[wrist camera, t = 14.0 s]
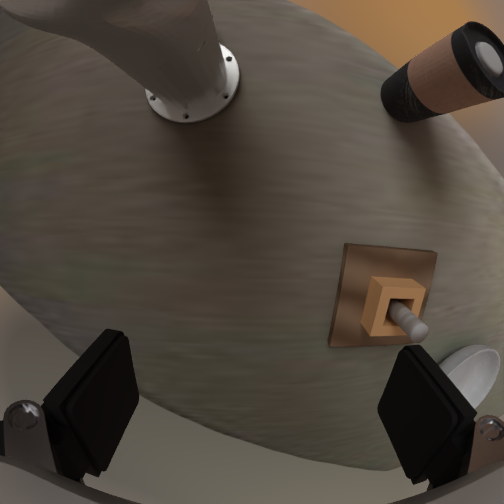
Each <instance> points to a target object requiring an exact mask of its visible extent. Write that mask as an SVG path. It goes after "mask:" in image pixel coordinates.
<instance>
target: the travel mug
mask: <svg viewBox="0 0 504 504" xmlns="http://www.w3.org/2000/svg"><path fill="white" fill-rule="evenodd" d="M503 97H504V45H503V43H502V42H501V40H500V39H499V38H498V37H497V36H496V35H495V34H494V33H493V32H492V31H491V30H490V29H489V28H487V27H486V26H484V25H483V24H480V23H478V22H473V21H471V22H467V23H466V24H465V25H463V26H462V27H460V28H459V29H457V30H455V31H454V32H452V33H451V34H449V35H447V36H446V37H444V38H443V39H441V40H440V41H438V42H436V43H435V44H433V45H432V46H430V47H429V48H427V49H426V50H424V51H423V52H422V53H420V54H418V55H417V56H416V57H414V58H413V59H411V60H410V61H409V62H408V63H406V64H405V65H404V66H403V67H402V68H400V69H399V70H398V71H397V72H395V73H394V74H393V75H392V76H391V77H389V78H388V79H387V80H386V81H385V82H384V83H383V85H382V88H381V99H382V102H383V105H384V107H385V108H386V110H387V111H388V112H389V114H390V115H391V116H393V117H394V118H395V119H397V120H399V121H401V122H406V123H409V122H415V121H419V120H423V119H426V118H430V117H434V116H438V115H442V114H446V113H450V112H453V111H456V110H460V109H463V108H467V107H470V106H473V105H477V104H480V103H484V102H488V101H492V100H495V99H499V98H503Z"/></svg>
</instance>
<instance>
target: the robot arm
mask: <svg viewBox="0 0 504 504" xmlns="http://www.w3.org/2000/svg"><path fill="white" fill-rule="evenodd" d="M0 7H1V8H2V9H3V10H4V11H5V13H7V14H8V15H9V16H11V17H12V18H13V19H15V20H17V21H19V22H21V23H23V24H25V25H27V26H29V27H32V28H35V29H38V30H42V31H45V32H49V33H53V34H57V35H61V36H65V37H69V38H72V39H74V40H77V41H79V42H82V43H84V44H86V45H87V46H89V47H91V48H93V49H94V50H96V51H97V52H99V53H100V54H102V55H103V56H105V57H106V58H107V59H109V60H110V61H111V62H113V63H114V64H115V65H116V66H118V67H119V68H120V69H122V70H123V71H124V72H126V73H127V74H128V75H129V76H131V77H132V78H133V79H135V80H136V81H137V82H138V83H140V84H141V85H142V86H143V87H145V92H146V97H147V100H148V102H149V104H150V105H151V107H152V108H153V110H154V111H156V112H157V113H158V114H159V115H160V116H162V117H164V118H165V119H168V120H170V121H173V122H178V123H195V122H200V121H203V120H206V119H209V118H211V117H212V116H214V115H216V114H218V113H219V112H220V111H222V110H223V109H224V108H225V107H226V106H227V105H228V104H229V103H230V102H231V100H232V99H233V97H234V96H235V94H236V91H237V89H238V86H239V81H240V71H239V66H238V63H237V60H236V58H235V57H234V55H233V54H232V52H231V51H229V50H228V49H227V48H226V47H225V46H223V45H221V44H220V43H219V39H218V36H217V32H216V29H215V25H214V22H213V15H211V11H210V7H209V4H208V1H207V0H0ZM229 60H231V61H230V62H228V61H229ZM225 96H227V97H228V98H227V99H224V97H225ZM154 99H156V100H155V101H154ZM186 116H189V118H188V119H186ZM43 401H44V403H43V404H42V405H41V406H40V405H39V404H37V403H35V402H34V401H30V400H21V401H17V402H15V403H13V404H11V405H10V406H9V407H8V408H7V409H6V411H5V413H4V418H3V420H2V421H0V504H140V503H136V502H133V501H130V500H126V499H123V498H120V497H117V496H113V495H110V494H107V493H104V492H102V491H99V490H96V489H93V488H91V487H88V486H86V485H85V483H84V481H83V477H84V475H85V473H88V474H91V475H93V476H96V477H99V475H100V473H101V471H106V470H107V468H108V466H109V464H110V462H111V459H112V457H113V455H114V453H115V450H116V448H117V446H118V444H119V442H120V440H121V438H122V436H123V434H124V431H125V429H126V427H127V425H128V423H129V421H130V419H131V417H132V415H133V413H134V411H135V409H136V407H137V405H138V402H139V392H138V387H137V383H136V378H135V373H134V368H133V362H132V357H131V351H130V345H129V340H128V337H126V336H124V333H123V332H122V331H117V330H112V329H106V330H105V331H104V332H103V333H102V334H101V335H100V336H99V337H98V338H97V339H96V340H95V341H94V342H93V343H92V345H91V346H90V347H89V348H88V349H87V350H86V351H85V352H84V353H83V354H82V356H81V357H80V358H79V359H78V360H77V361H76V362H75V363H74V364H73V366H72V367H71V368H70V369H69V370H68V371H67V372H66V374H65V375H64V376H63V377H62V378H61V379H60V380H59V382H58V383H57V384H56V385H55V386H54V387H53V389H52V390H51V391H50V392H49V393H48V395H47V396H46V397H45V398H44V399H43ZM378 414H379V416H380V418H381V420H382V423H383V425H384V427H385V429H386V431H387V434H388V436H389V438H390V440H391V442H392V445H393V447H394V449H395V451H396V454H397V456H398V458H399V461H400V463H401V465H402V468H403V470H404V472H405V475H406V476H407V478H409V479H411V481H412V483H413V485H414V484H417V483H420V482H423V481H425V480H427V479H428V480H429V482H430V483H429V485H428V488H427V491H426V492H424V493H421V494H418V495H415V496H413V497H409V498H406V499H403V500H400V501H396V502H393V503H389V504H504V422H503V421H502V420H501V419H499V418H498V417H495V416H493V415H485V416H482V417H480V418H479V419H478V420H477V421H476V422H475V421H474V420H473V419H474V417H475V416H476V414H477V412H476V411H475V409H474V408H473V407H472V405H471V404H470V403H469V402H468V400H467V399H466V398H465V397H464V396H463V394H462V393H461V392H460V391H459V389H458V388H457V387H456V386H455V385H454V383H453V382H452V381H451V380H450V379H449V377H448V376H447V375H446V374H445V373H444V372H443V370H442V369H441V368H440V367H439V366H438V365H437V363H436V362H435V361H434V360H433V359H432V358H431V357H430V355H429V354H428V353H427V352H426V351H425V350H424V349H423V348H422V346H420V345H409V346H405V347H404V348H403V349H402V350H401V351H400V352H399V353H398V356H397V359H396V361H395V364H394V367H393V370H392V372H391V375H390V377H389V380H388V382H387V385H386V387H385V390H384V392H383V395H382V397H381V399H380V402H379V404H378Z"/></svg>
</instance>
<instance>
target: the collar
mask: <svg viewBox="0 0 504 504" xmlns="http://www.w3.org/2000/svg"><path fill="white" fill-rule="evenodd" d="M425 290H426V288H424V287H423V286H422V285H420V284H419V283H417V282H416V281H414V280H413V279H404V278H388V277H372V276H371V279H370V284H369V289H368V293H367V298H366V302H365V307H364V311H363V315H362V319H361V324H362V325H363V327H364V328H365V330H366V331H367V333H368V334H369V336H400V335H407V334H406V333H405V332H404V331H403V330H402V329H401V328H400V327H399V326H398V324H397V323H396V322H395V321H394V320H393V319H392V318H391V317H390V316H389V315H388V314H386V312H387V309H388V305H389V301H390V298H399V301H400V302H401V303H403V304H404V305H405V306H406V307H407V308H408V309H409V310H410V311H411V312H412V313H413V314H415V315H416V316H417V317H418V315H419V312H420V308H421V305H422V301H423V298H424V294H425Z"/></svg>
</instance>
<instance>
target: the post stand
mask: <svg viewBox="0 0 504 504" xmlns="http://www.w3.org/2000/svg"><path fill="white" fill-rule="evenodd" d="M436 258H437V253H436V252H433V251H428V250H417V249H406V248H395V247H384V246H372V245H361V244H349V243H345V244H344V251H343V258H342V265H341V272H340V278H339V284H338V290H337V296H336V301H335V307H334V312H333V317H332V323H331V327H330V332H329V337H328V344H329V346H330V347H347V346H376V345H394V344H408V343H420V342H422V341H423V340H424V339H425V338H426V336H427V334H428V327H427V326H426V325H425V324H424V323H423V322H422V321H421V320H422V316H423V313H424V309H425V306H426V302H427V298H428V294H429V290H430V286H431V282H432V278H433V273H434V268H435V264H436ZM371 276H372V277H388V278H404V279H413V280H414V281H416V282H417V283H419V284H420V285H422V286H423V287H424V288H426V290H425V294H424V298H423V301H422V305H421V308H420V312H419V315H418V317H417V316H416V315H415V314H413V313H412V312H411V311H410V310H409V309H408V308H407V307H406V306H405V305H404V304H403V303H401V302H400V301H399V298H390V301H389V305H388V309H387V312H386V314H388V315H389V316H390V317H391V318H392V319H393V320H394V321H395V322H396V323H397V324H398V326H399V327H400V328H401V329H402V330H403V331H404V332H405V333H406V334H407V335H400V336H369V334H368V333H367V331H366V330H365V328H364V327H363V325H362V324H361V319H362V315H363V311H364V307H365V302H366V298H367V293H368V289H369V284H370V279H371Z"/></svg>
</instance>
